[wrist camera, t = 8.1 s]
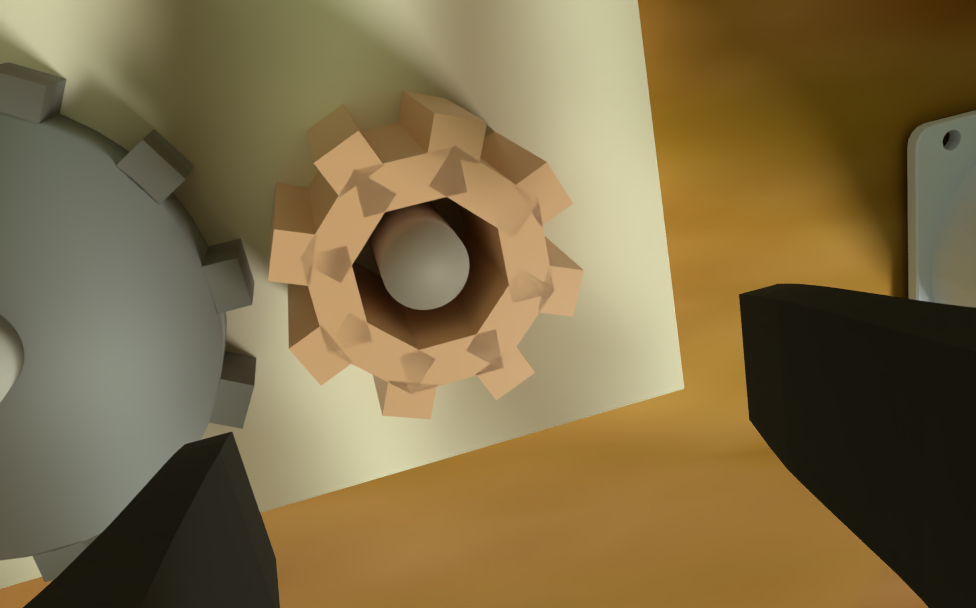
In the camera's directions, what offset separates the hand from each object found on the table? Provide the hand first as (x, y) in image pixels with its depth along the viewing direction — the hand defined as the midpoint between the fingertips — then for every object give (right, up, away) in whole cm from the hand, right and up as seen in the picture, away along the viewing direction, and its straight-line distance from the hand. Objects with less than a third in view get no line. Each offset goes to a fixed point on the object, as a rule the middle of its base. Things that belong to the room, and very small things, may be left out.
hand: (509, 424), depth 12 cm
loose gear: (-2, +3, +7) cm, 8 cm away
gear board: (-6, +3, +7) cm, 10 cm away
